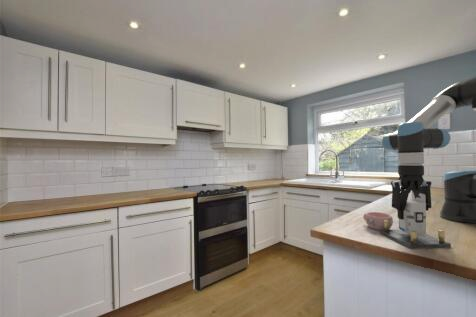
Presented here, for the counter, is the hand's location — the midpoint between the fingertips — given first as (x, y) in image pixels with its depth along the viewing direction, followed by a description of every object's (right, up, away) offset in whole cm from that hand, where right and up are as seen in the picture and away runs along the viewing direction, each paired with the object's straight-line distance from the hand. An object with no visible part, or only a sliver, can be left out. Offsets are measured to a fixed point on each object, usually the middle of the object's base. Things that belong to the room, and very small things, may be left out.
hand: (411, 227), depth 81 cm
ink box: (0, -2, 0) cm, 2 cm away
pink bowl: (-4, -5, +14) cm, 15 cm away
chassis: (0, -4, 0) cm, 4 cm away
